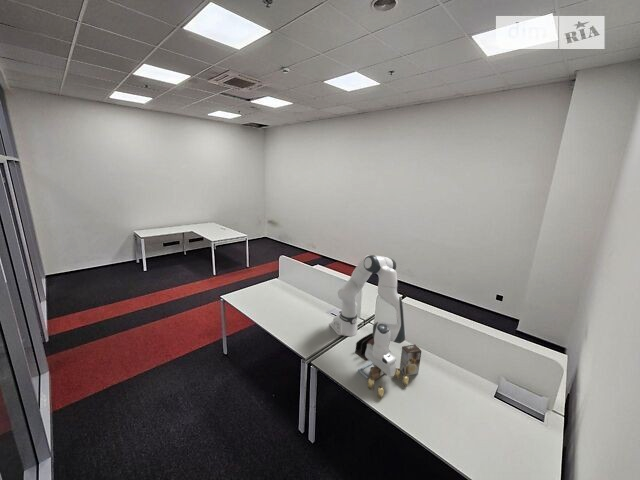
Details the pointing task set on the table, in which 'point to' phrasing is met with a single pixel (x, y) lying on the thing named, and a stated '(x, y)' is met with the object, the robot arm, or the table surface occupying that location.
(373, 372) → the brown flat block
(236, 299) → the table surface
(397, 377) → the spacers
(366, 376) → the bay
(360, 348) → the letter holder
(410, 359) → the coffee box
